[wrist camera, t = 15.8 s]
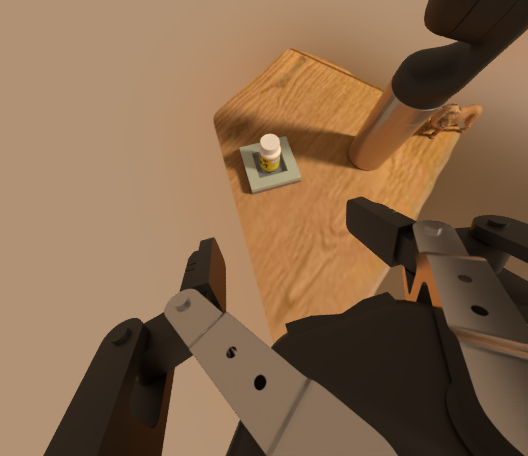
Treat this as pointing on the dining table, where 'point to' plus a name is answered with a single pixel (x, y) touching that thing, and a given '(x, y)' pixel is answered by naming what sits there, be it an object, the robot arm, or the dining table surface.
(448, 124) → the lion figurine
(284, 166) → the recess plate
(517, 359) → the robot arm
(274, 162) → the supplement bottle
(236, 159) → the dining table surface
